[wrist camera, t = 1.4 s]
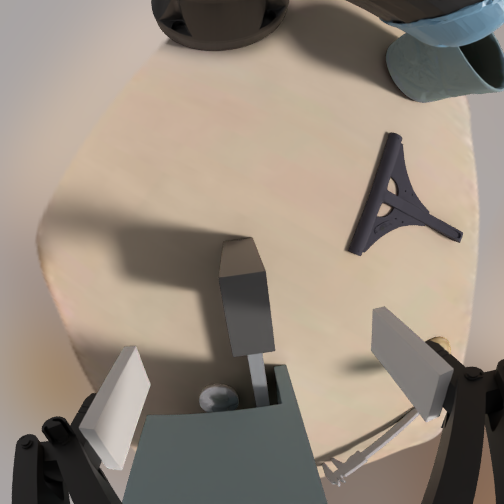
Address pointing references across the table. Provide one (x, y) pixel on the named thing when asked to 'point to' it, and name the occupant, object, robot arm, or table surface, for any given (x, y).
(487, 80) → the grey-green hollow cylinder
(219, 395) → the steel token
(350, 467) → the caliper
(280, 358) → the table surface
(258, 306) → the grey l-bracket
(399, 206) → the dark squeegee
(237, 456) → the cabinet
